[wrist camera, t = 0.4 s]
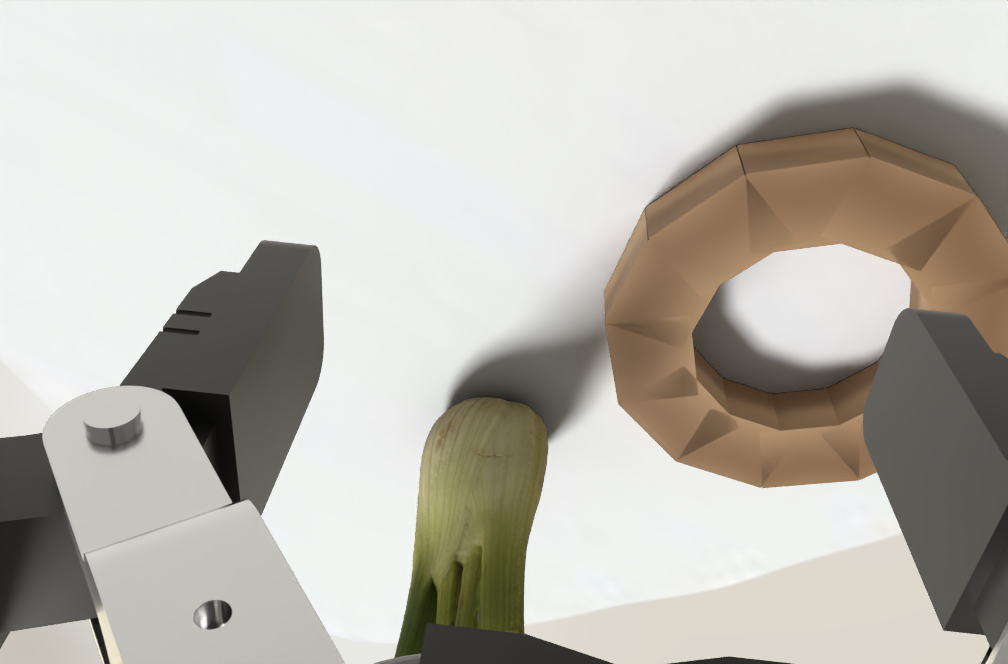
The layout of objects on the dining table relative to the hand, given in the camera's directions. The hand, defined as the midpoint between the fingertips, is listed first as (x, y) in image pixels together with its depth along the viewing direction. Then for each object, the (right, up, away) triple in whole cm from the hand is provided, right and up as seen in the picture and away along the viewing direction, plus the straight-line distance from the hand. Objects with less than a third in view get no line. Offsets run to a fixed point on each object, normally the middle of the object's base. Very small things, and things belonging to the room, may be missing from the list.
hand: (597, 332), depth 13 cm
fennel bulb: (-2, -4, +26) cm, 26 cm away
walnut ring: (+10, +1, +21) cm, 23 cm away
